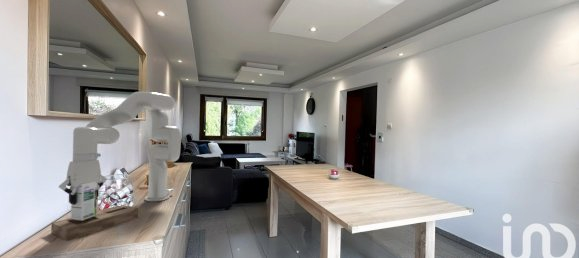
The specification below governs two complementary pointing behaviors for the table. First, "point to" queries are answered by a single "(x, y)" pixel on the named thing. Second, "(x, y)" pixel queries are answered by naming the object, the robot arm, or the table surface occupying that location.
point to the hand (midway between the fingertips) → (84, 201)
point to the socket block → (93, 222)
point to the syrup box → (85, 202)
